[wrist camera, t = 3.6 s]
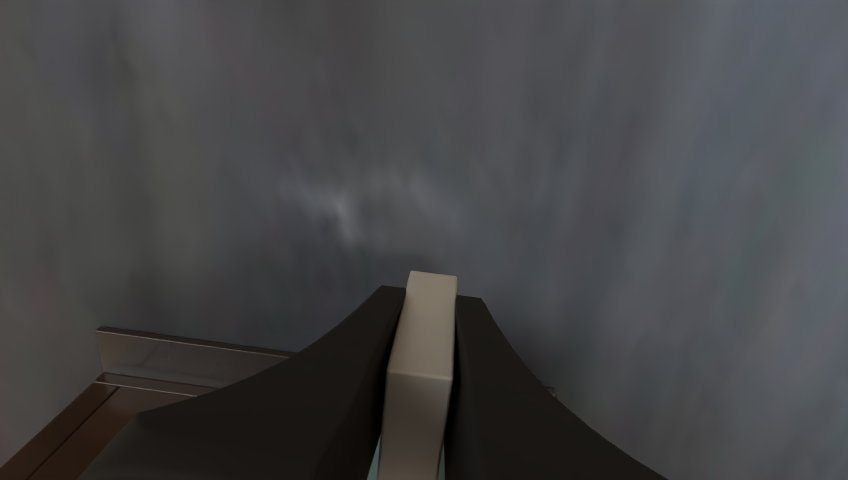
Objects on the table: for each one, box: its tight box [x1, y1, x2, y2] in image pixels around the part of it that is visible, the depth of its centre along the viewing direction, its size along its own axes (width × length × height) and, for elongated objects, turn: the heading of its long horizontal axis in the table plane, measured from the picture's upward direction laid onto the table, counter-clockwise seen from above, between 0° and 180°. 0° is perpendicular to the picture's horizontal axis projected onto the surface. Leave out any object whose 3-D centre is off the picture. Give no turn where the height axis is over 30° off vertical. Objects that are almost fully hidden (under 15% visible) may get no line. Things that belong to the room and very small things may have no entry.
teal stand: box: [367, 271, 457, 480], centre depth 12 cm, size 7×8×6 cm
